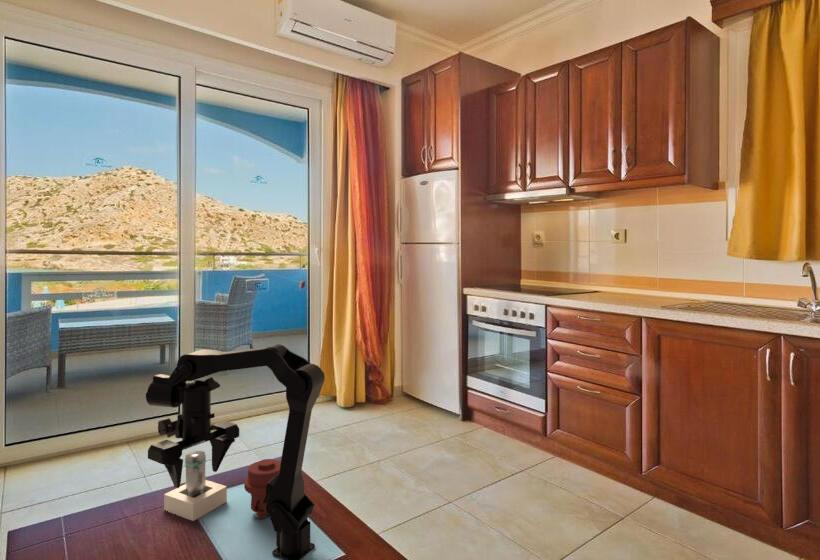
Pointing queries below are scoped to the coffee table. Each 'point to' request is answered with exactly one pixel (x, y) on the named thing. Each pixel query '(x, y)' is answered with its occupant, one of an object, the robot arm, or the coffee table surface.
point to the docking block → (195, 501)
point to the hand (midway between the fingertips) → (196, 479)
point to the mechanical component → (260, 483)
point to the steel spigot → (195, 473)
